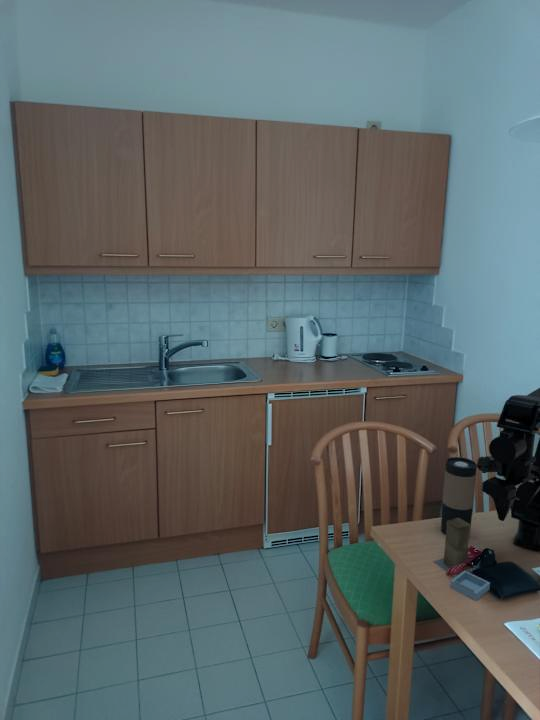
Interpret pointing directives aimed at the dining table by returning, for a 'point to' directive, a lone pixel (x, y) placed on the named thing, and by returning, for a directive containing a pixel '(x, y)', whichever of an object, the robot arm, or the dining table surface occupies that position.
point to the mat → (446, 568)
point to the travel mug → (458, 490)
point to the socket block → (470, 585)
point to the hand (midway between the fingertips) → (512, 514)
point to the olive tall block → (456, 542)
